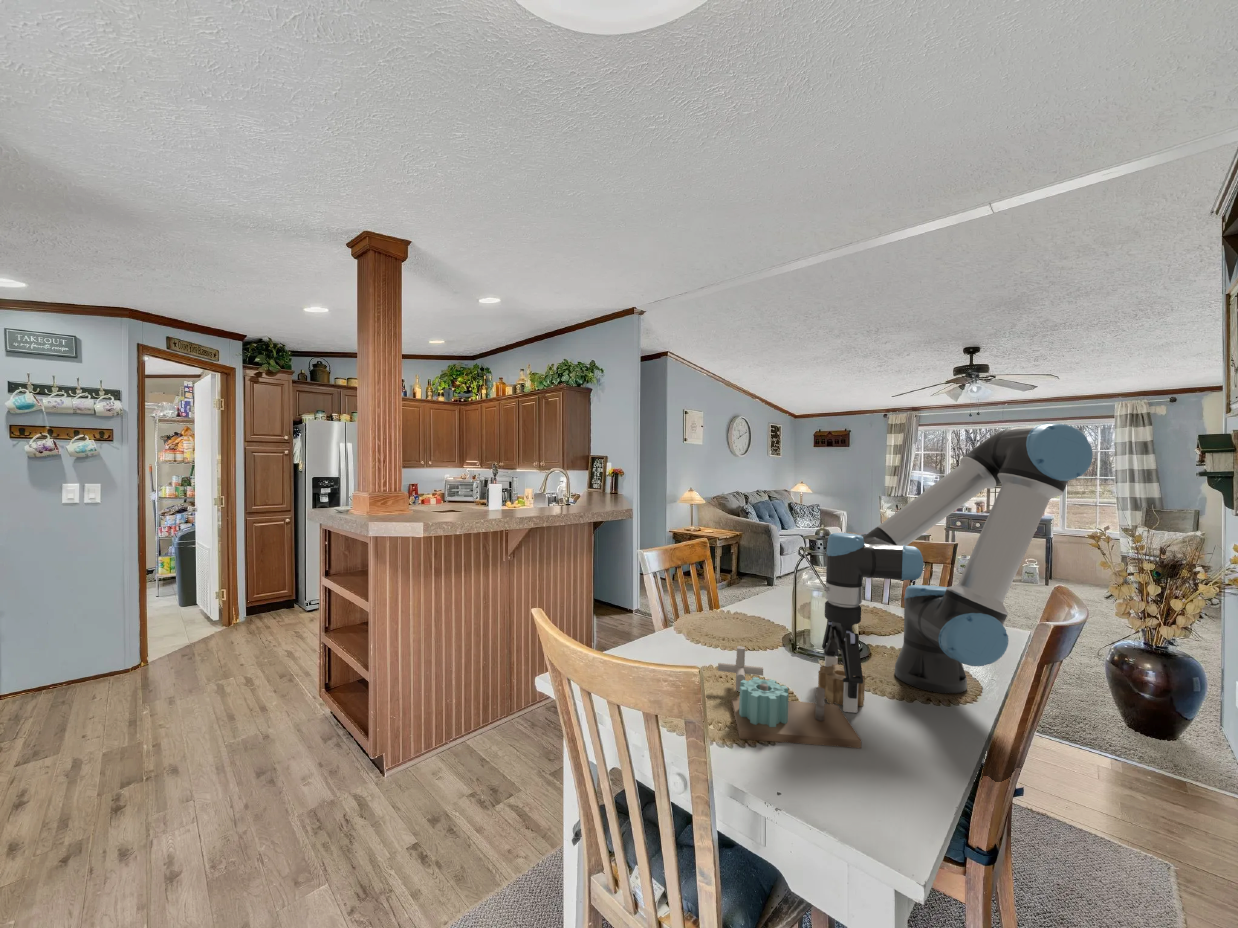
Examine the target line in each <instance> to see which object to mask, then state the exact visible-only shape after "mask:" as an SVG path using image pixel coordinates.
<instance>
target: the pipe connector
mask: <svg viewBox="0 0 1238 928" xmlns="http://www.w3.org/2000/svg"><path fill="white" fill-rule="evenodd" d="M745 657H746V647H745V646H742V645H740V646H739V645H738V646H736V658H735V664H734V663H724V662H717V664H718V665H717V671H718V672H724V673H733V674H734V673H735V692H736V691H739V692H740V682H741V681H742V680H746V675H750V676H751V675H752V676H753V675H754V676H764V667H763V666H754V665H745V659H746V658H745Z"/></svg>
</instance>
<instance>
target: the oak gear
mask: <svg viewBox="0 0 1238 928" xmlns="http://www.w3.org/2000/svg"><path fill="white" fill-rule="evenodd" d="M862 676H863V684H859V683H858V707H863V706H864V705H865V704H864V703H865V691H866V690H865V688H866V687H865V686H866V685H865V684H866V681H865V680H866V676H865V674H864V673H863V672H862ZM853 677H855V676H853ZM844 678H846V677H845V672H844V666H839V665H832V666H829V667H826V666H825V665H821V666H819V670H818V680H817V681H818V682H817V685H818V686H817V687H821V688H824V689H825V700H826V703H827V704H837V705H838V706H843V691H844V682H843V679H844Z"/></svg>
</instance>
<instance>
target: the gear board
mask: <svg viewBox="0 0 1238 928" xmlns="http://www.w3.org/2000/svg"><path fill="white" fill-rule="evenodd" d="M760 690H762V691H768V685H767V684H760ZM739 699H740V697H734V696H732V697H731V699H730V700H731V704H732V705H731V707H732V708H733V709H732V712H733V711H734V713H733V716H735V717H734V720H736V721H735V724H737V725H736V728H738V729H737V733H738V736H739V740H752V741H763V742H776V743H777V742H778V743H788V744H789V743H790V744H802V745H803V744H804V745H817V746H829V747H841V748H842V747H843V748H855V749H861V748H862V739H861V738H860V736H859V735H858V734H857V731H856V730H855V729H854V727H853V726H852V725H851V723H850V722H849V720H848V718H847V717H846V715H845V714H844V711H843V710H842V709H841V708H840V707H839V704H836V703H835V704H830V703H825V700H826V699H825V689H824V688H821V687H818V686H817V687H816V689H815V702H808V701H807V702H806V701H792V700H791V701H789V700H788V722H787V723H786V724H784V723H781V722H780V723H779V724H776V727H769V726H768V724H761V723H758V724H757V725H755V724H752V723H750V720H749V719H748V718H747V717H741V716H740V714H739Z"/></svg>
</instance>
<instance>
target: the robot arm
mask: <svg viewBox="0 0 1238 928" xmlns="http://www.w3.org/2000/svg"><path fill="white" fill-rule="evenodd" d="M1093 452H1094V451H1093V448H1092V445H1091V443H1090V442H1089V441H1088V438H1087V436H1086V435H1085V434H1084V433H1083V432H1082V431H1081V430H1080V429H1078V428H1076V427H1074V426H1072V425H1068V424H1065V423H1050V422H1049V423H1048V422H1045V423H1041V424H1037V425H1027V426H1026V425H1025V426H1014V427H1009V428H1006V429H1002V430H1000V431H998V432H997V433H995V434H993V435H992V436H990V437H988V438H987V439H985V440H983V441H982V442H981V443H980V444H979V445H977V446H976V447H974V448H973V449H972V450H971V451H969V452H968V453H967V454H965V455H964V456H963V457H961V458H960V460H959V461H960V462H959V464H958V466H956V467H955V468H954V469H952V471H950V472H948V473H947V474H946V475H945V476H943V477H942V478H941V479H939V480H938V481H936V482H935V483H934V484H933V485H931V486H929V488H927V489H926V490H924V491H923V492H922V493H921V494H919V495H918V496H917V497H915V498H914V499H912V500H911V501H910V502H908V503H907V504H906V505H905V506H903V507H902V508H900V509H899V510H898V511H897V512H895V513H893V515H891V516H890V517H888V518H886V520H884V521H883V522H882V523H880V524H879V525H878V526H876V527H875V528H874V529H871V531H869V532H868V533H862V534H856V533H850V532H832V533H831V534H829V536H828V538H827V544H826V552H825V555H826V566H825V567H826V570H825V573H826V575H825V576H826V577H825V579H826V580H825V586H824V587H823V588H822V590H823V591H824V592H825V599H826V601H825V602H824V617H825V619H826V620H827V622H826V626H825V627H826V628H825V631H824V636H823V640H822V644H821V648H822V649H823V651H824V652H823V653H824V666H826V667H829V666H832V665H838V662H839V660H838V659H839V657H838V656H840V655H841V660H842V667H844V672H845V677H846V678H844V679H843V682H844V691H843V705H842V712H843V713H856V714H857V713H858V707H859V706H858V683H859V684H863V676H862V673H863V669H862V660H861V653H860V645H859V643H860V640H859V639H860V638H859V637H860V636H859V633H854V630H853V626H854V625H857V624H860V623H861V621H862V606H861V604H862V602H863V578H866V579H884V580H897V581H898V580H899V581H904V582H905V581H915V580H918V579H920V577H922V574H923V573H924V572H923V571H924V557H923V555H922V552H921V550H920V549H919V548H917V547H916V546H913V545H912V546H911V545H910V544H911V543H912V542H914V541H916V539H918V538H920V536H922V535H924V534H925V533H926V532H928V531H929V530H931V529H932V528H933V527H934V526H936V525H937V524H939V523H940V522H942V521H943V520H945V518H947V517H948V516H950V515H951V514H952V513H954V512H955V511H956V510H958V509H959V508H960V507H962V506H963V505H965V504H966V503H967V502H969V501H970V500H971V499H973V498H974V497H976V496H977V495H978V494H980V493H981V492H982V491H984V490H985V489H991V490H993V489H995V488H996V487H997V486H999V485H1000V484H1001V487H1000V488H999V491H998V493H997V495H996V498H995V499H994V502H993V505H992V507H991V509H990V511H989V513H988V516H987V518H986V520H985V522H984V525H983V527H982V529H981V531H980V533H979V536H978V538H977V540H976V542H975V544H974V547H973V549H972V552H971V554H970V556H969V558H968V561H967V563H966V565H965V567H964V570H963V571H962V573H961V576H960V579H959V581H958V582H957V584H955V585H952V586H948V587H947V586H939V585H938V586H937V585H925V584H924V585H922V584H914V585H908V586H907V587H906V588H905V592H904V597H903V600H904V604H903V605H904V607H903V609H904V610H903V613H904V614H903V642H902V643H903V644H902V647H901V649H900V652H899V653H898V656H897V658H896V661H895V665H894V675H895V677H896V678H898V680H899V681H901V682H903V683H905V684H907V685H909V686H911V687H914V688H916V689H917V688H918V689H920V690H924V691H927V690H928V692H932V691H933V693H937V692H938V693H939V694H947V693H955V694H961V693H963V691H964V692H965V691H966V690H967V689H968V679H967V678H968V677H967V675H966V672H965V671H966V670H965V668H964V665H965V666H970V667H984V666H987V665H991V664H994V663H996V662H997V661H998V660H1000V658H1002V657H1003V656H1004V655H1005V653H1006V652H1007V649H1008V647H1009V635H1008V634H1007V629H1006V627H1005V626H1004V624H1005V621H1006V620H1007V618H1008V615H1009V613H1008V611H1007V609H1006V607H1005V605H1004V602H1005V600H1006V597H1007V594H1008V593H1009V591H1010V588H1011V586H1012V584H1013V582H1014V580H1015V577H1016V575H1017V573H1018V570H1019V569H1020V567H1021V564H1022V562H1023V559H1024V557H1025V556H1026V553H1027V551H1028V549H1029V547H1030V544H1031V541H1032V540H1033V538H1034V535H1035V533H1036V531H1037V529H1038V526H1039V525H1040V522H1041V520H1042V518H1043V515H1044V513H1045V511H1046V509H1047V507H1048V505H1049V502H1050V500H1052V499H1054V498H1056V497H1060V496H1063V494H1064V491H1065V490H1066V487H1067V485H1068V483H1069V481H1071V480H1075V479H1077V478H1079V477H1081V476H1083V475H1084V474H1086V472H1087V471H1088V470H1089V469H1090V467H1091V465H1092V462H1093V456H1094V454H1093ZM839 651H840V652H839ZM838 666H839V665H838ZM853 676H855V677H853Z"/></svg>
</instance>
